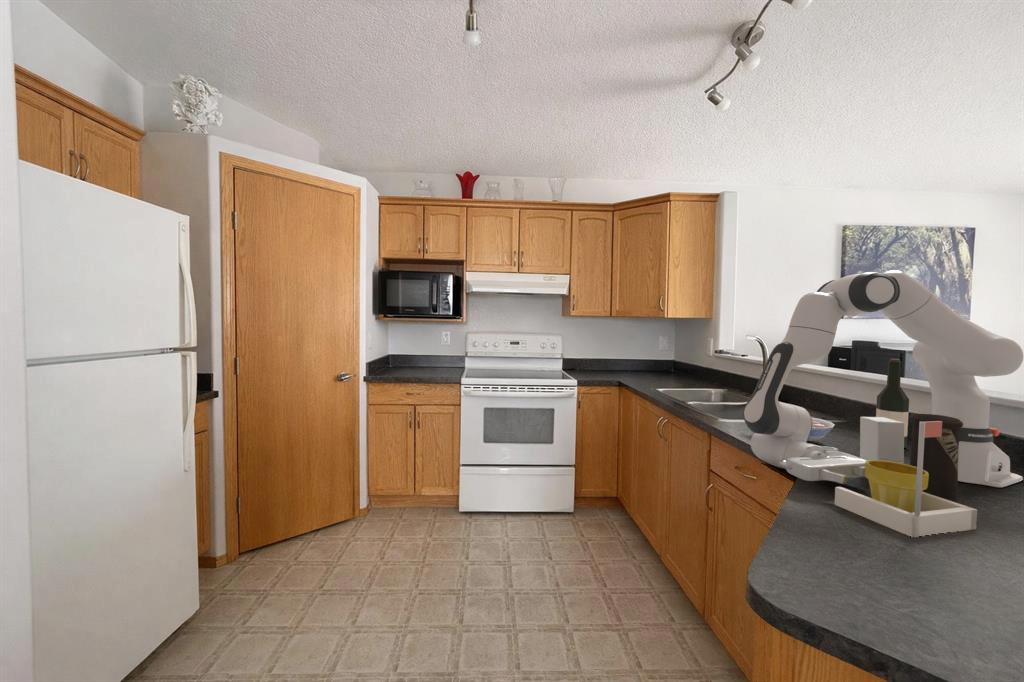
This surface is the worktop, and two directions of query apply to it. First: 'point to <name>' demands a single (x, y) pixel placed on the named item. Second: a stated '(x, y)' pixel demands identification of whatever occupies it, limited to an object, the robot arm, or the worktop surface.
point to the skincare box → (881, 439)
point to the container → (938, 455)
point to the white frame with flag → (929, 509)
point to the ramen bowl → (819, 429)
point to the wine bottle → (894, 398)
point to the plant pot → (894, 483)
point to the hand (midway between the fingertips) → (861, 478)
